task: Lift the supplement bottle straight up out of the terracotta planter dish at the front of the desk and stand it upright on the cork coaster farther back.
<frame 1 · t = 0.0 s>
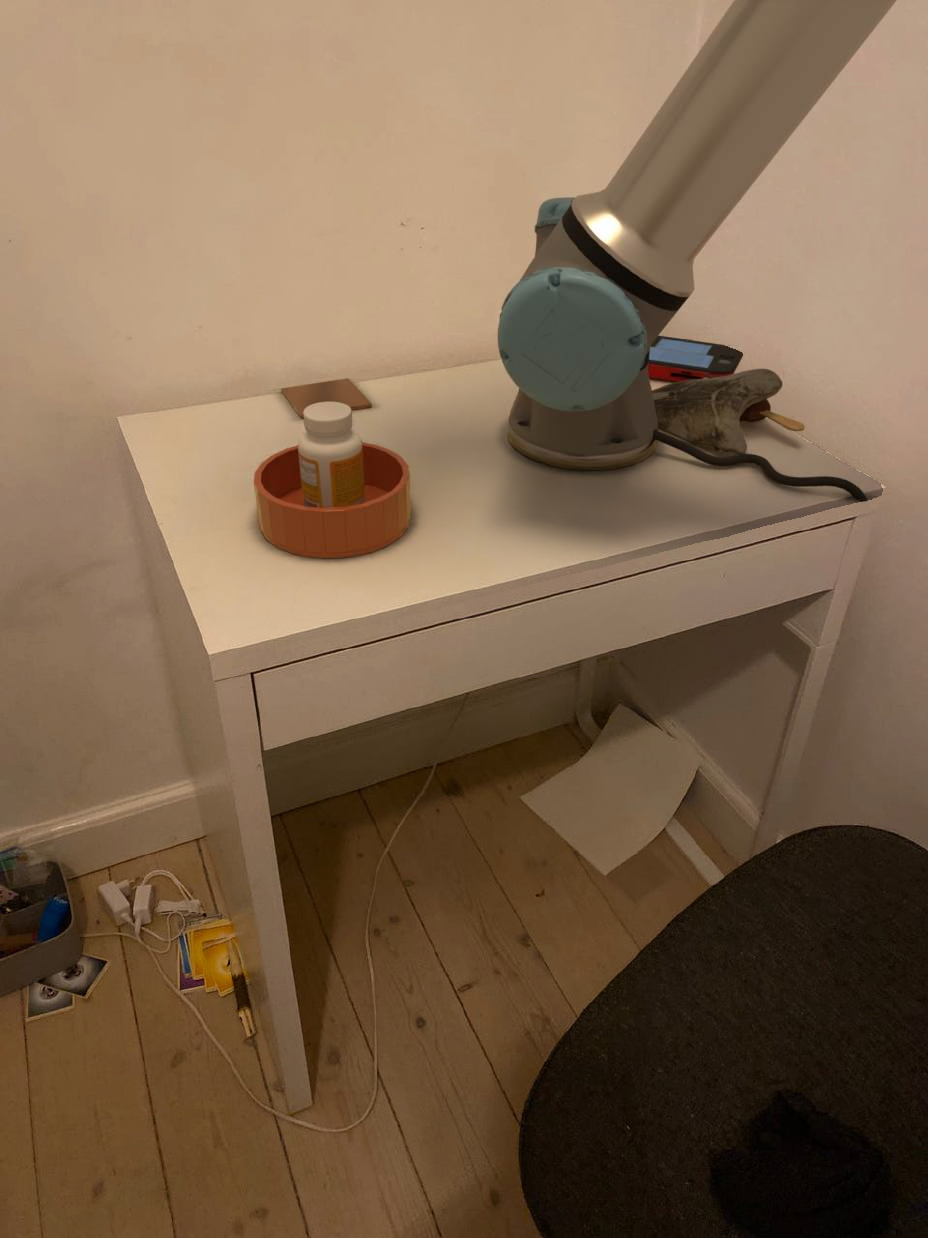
game console: (676, 366, 116), on the table
terracotta planter dish: (335, 518, 84), on the table
fossil: (630, 401, 105), point 1 cm above the table, touching ice cream bar
ice cream bar: (797, 433, 96), point 2 cm above the table, touching fossil
coaster: (325, 399, 106), on the table
supplement bottle: (335, 515, 84), resting on terracotta planter dish
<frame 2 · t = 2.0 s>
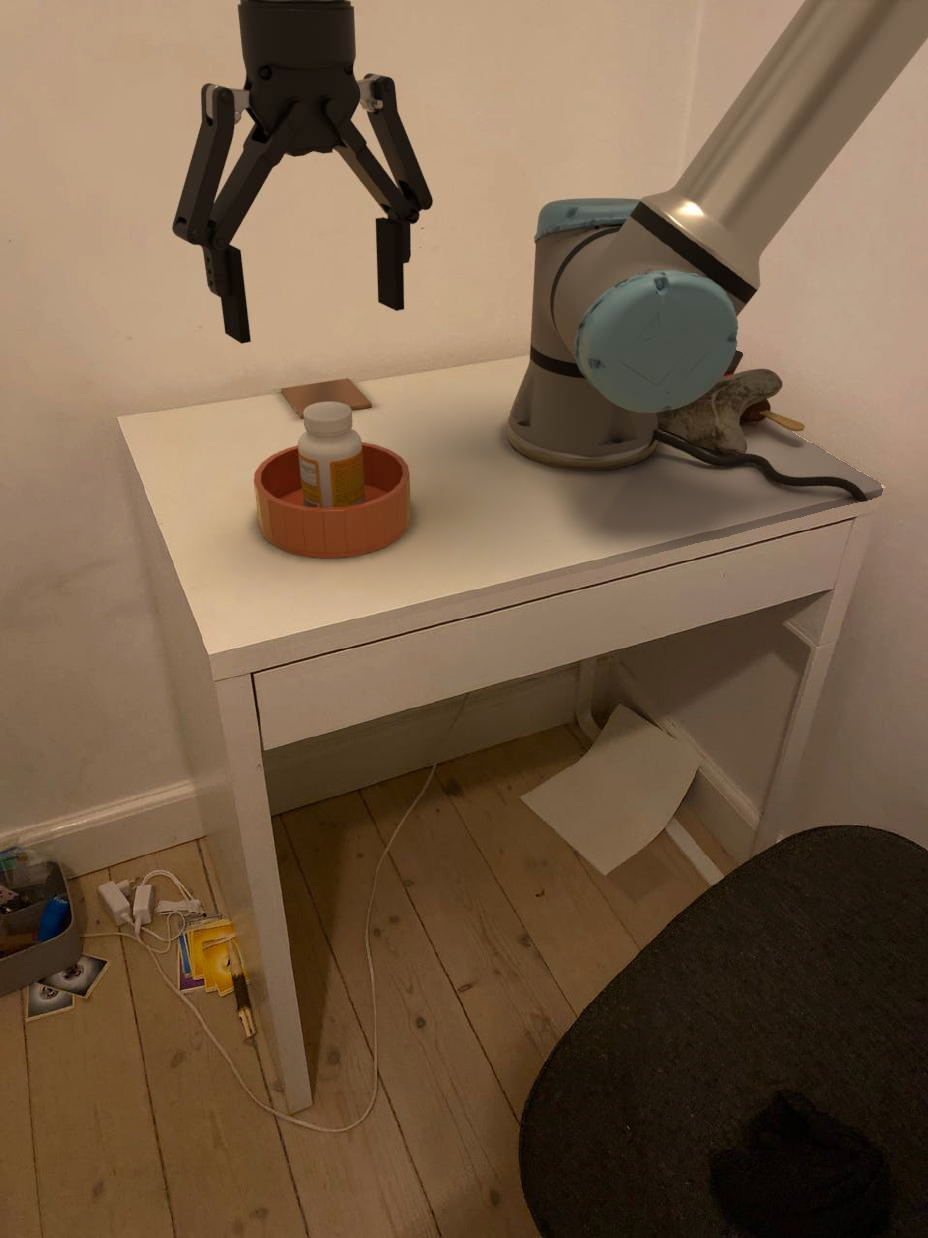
hand: (318, 321, 74), 18 cm above the table, tool pointing down, fingers open, 13 cm apart
nothing on the table moved.
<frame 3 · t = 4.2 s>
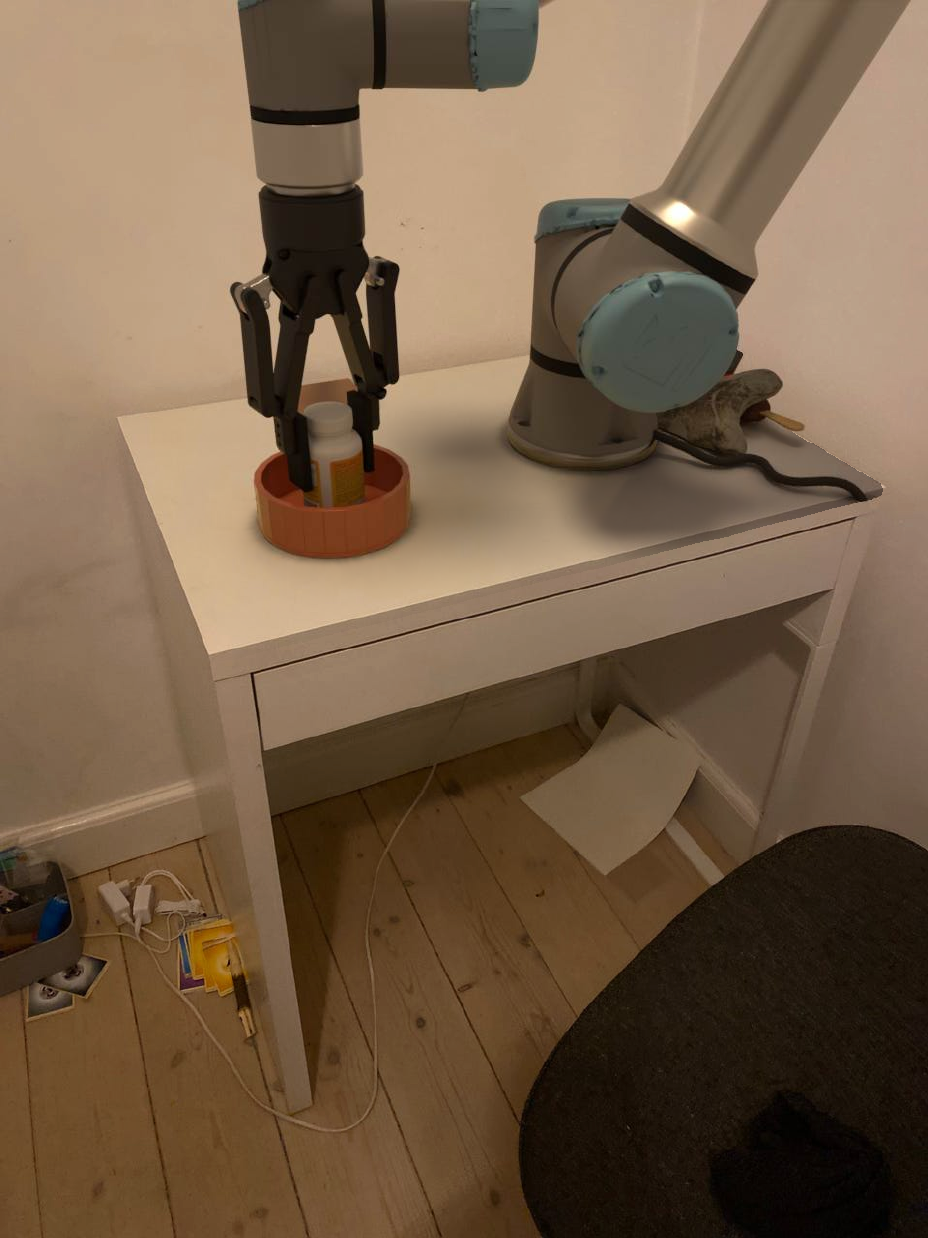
hand: (332, 475, 82), 4 cm above the table, tool pointing down, fingers closed on supplement bottle, 5 cm apart
supplement bottle: (335, 515, 84), resting on terracotta planter dish, touching gripper
everything else where it was.
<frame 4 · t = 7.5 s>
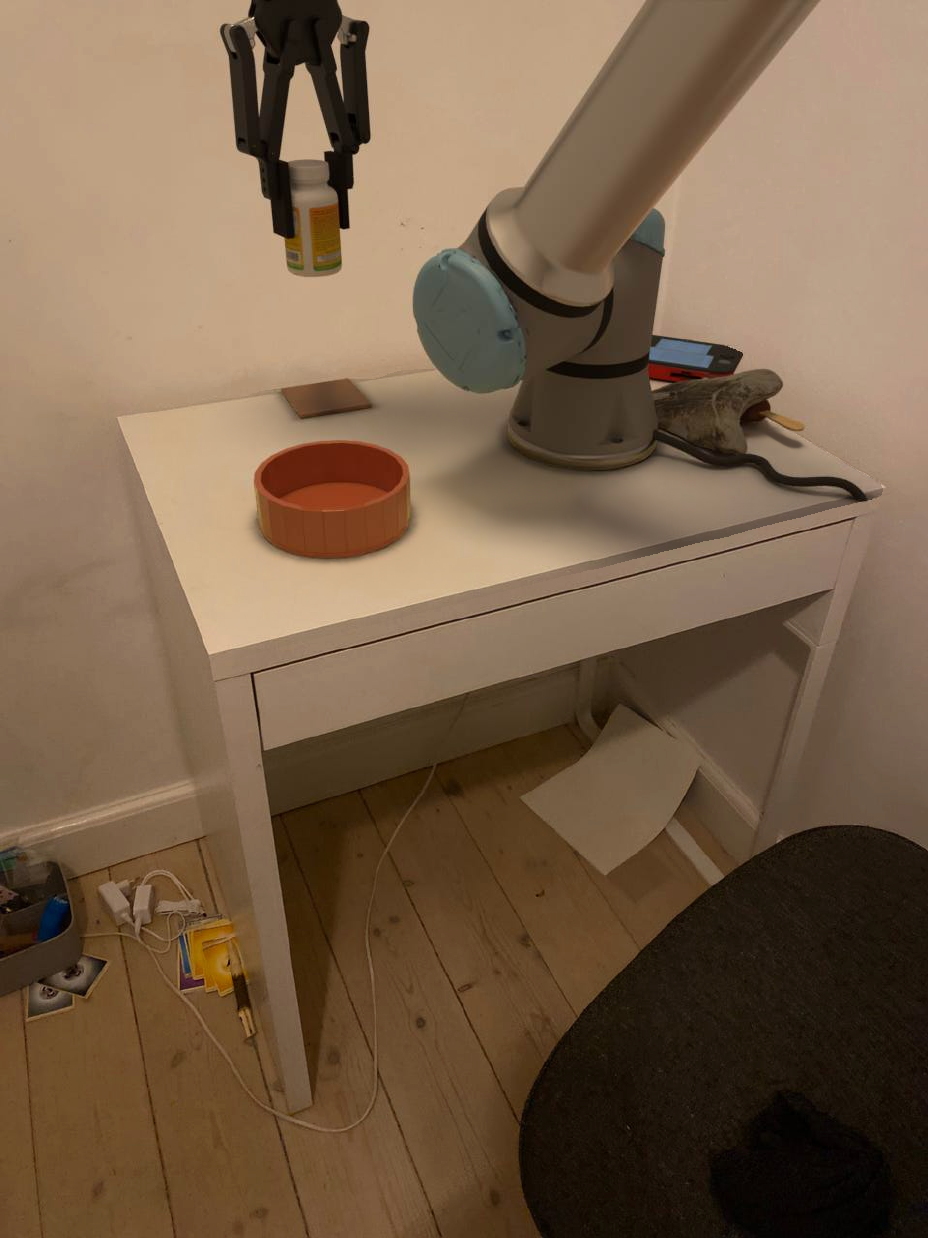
hand: (312, 229, 92), 19 cm above the table, tool pointing down, fingers closed on supplement bottle, 5 cm apart
supplement bottle: (315, 272, 94), point 15 cm above the table, touching gripper
everything else where it was.
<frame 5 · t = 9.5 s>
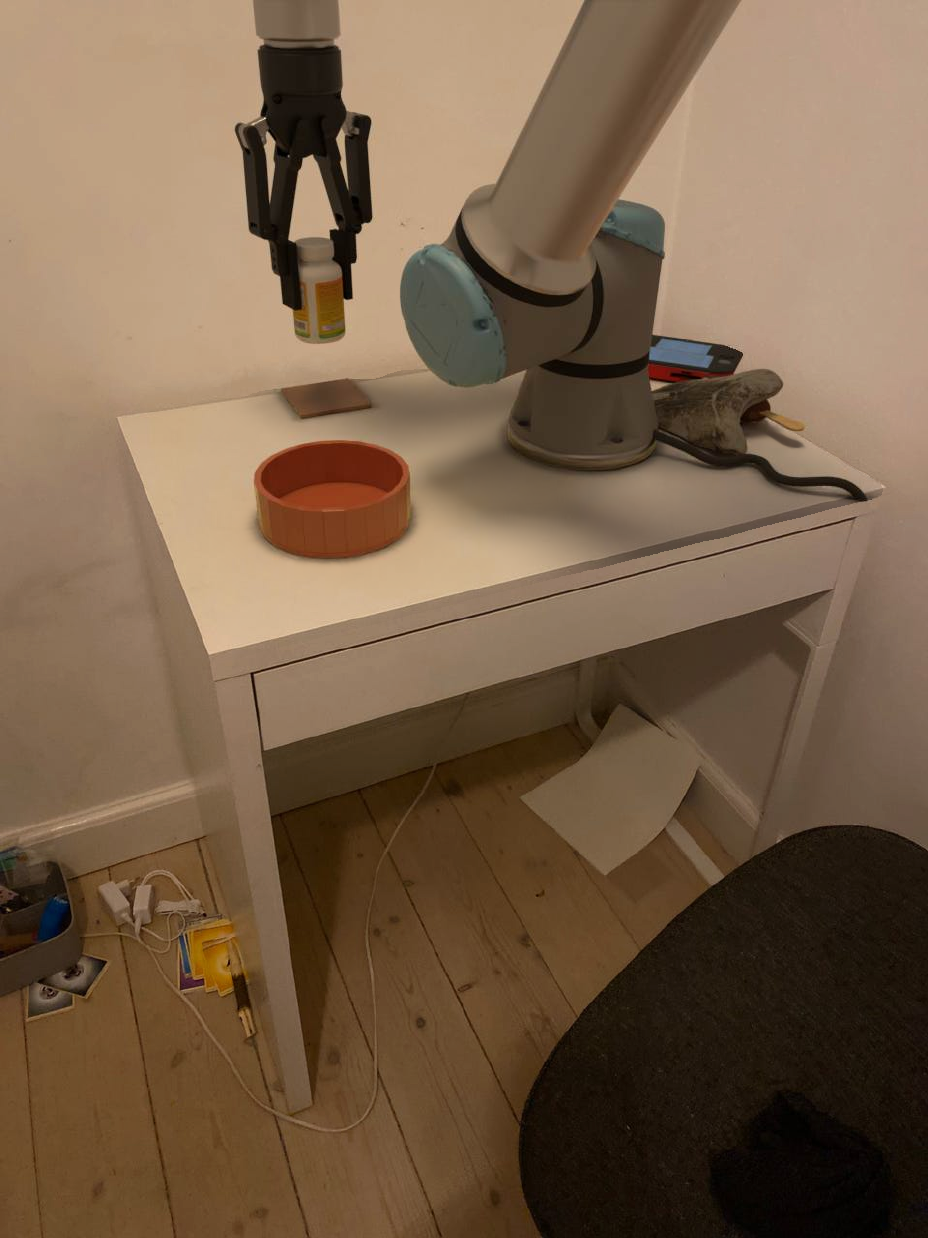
hand: (318, 300, 99), 11 cm above the table, tool pointing down, fingers closed on supplement bottle, 5 cm apart
supplement bottle: (320, 338, 102), point 7 cm above the table, touching gripper
everything else where it was.
when the fingers open (4 cm above the table, at t = 11.3 s): supplement bottle stays where it is, resting on coaster.
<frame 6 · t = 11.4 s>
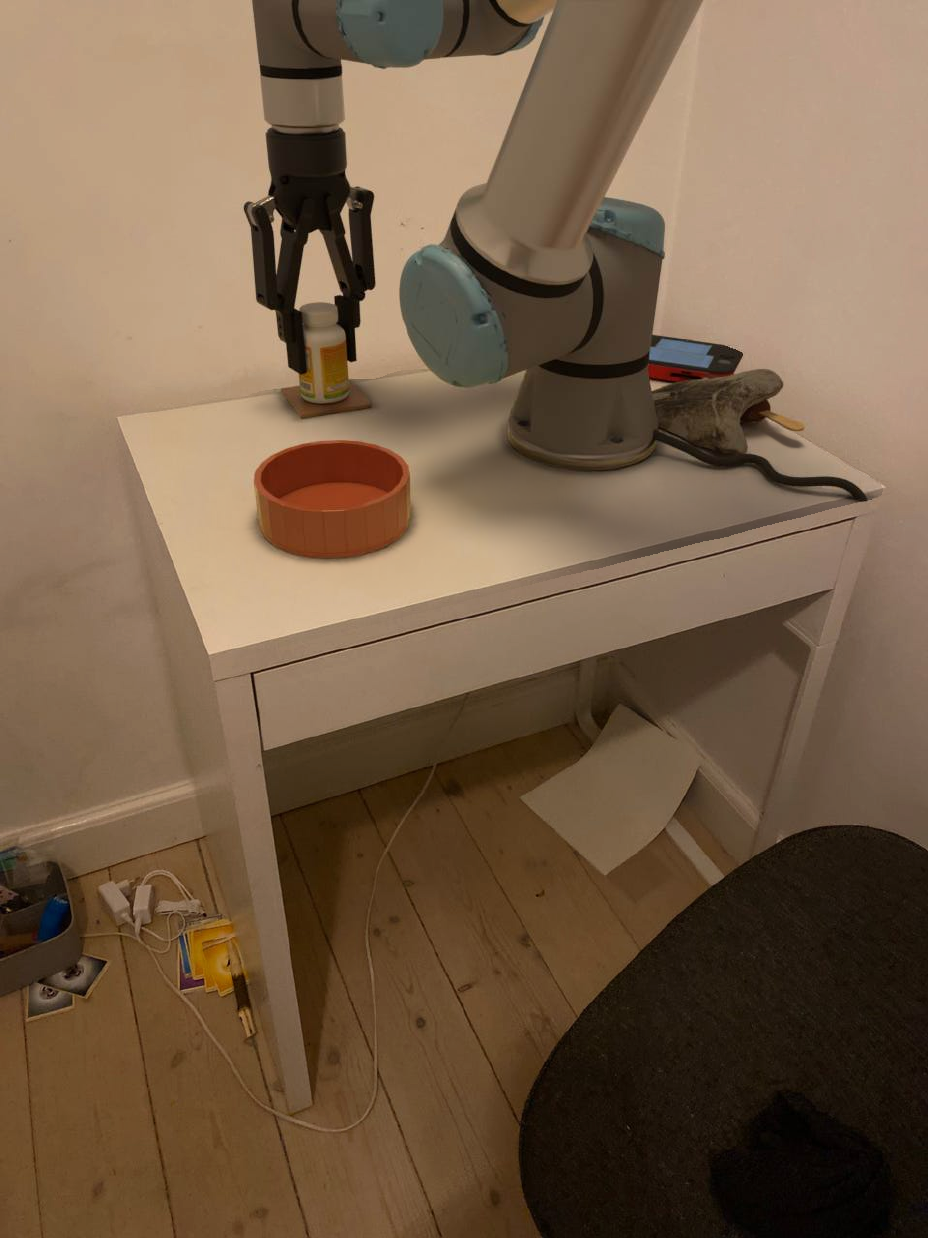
hand: (322, 363, 103), 4 cm above the table, tool pointing down, fingers open, 5 cm apart
supplement bottle: (325, 397, 106), resting on coaster
everything else where it was.
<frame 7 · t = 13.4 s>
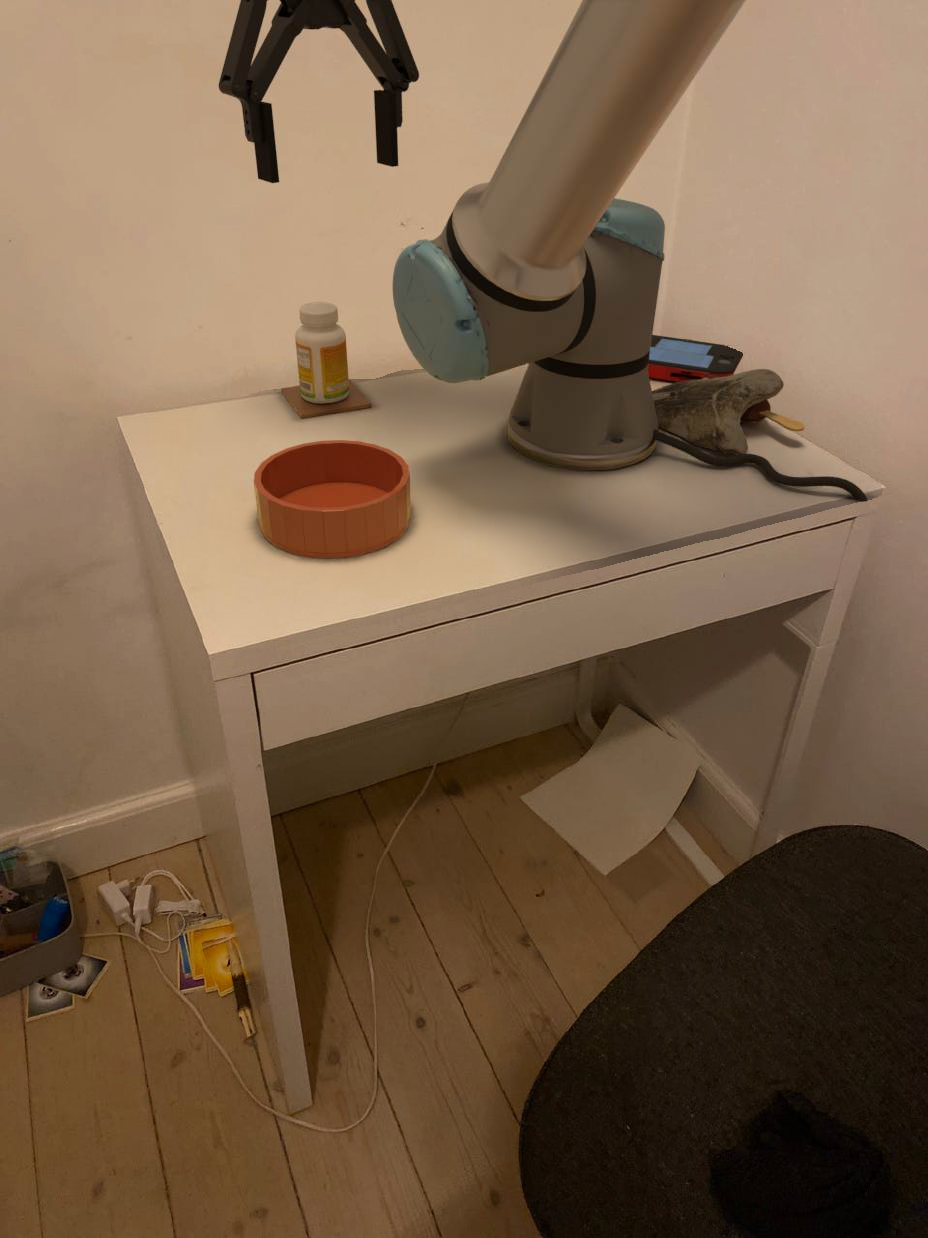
hand: (330, 172, 93), 23 cm above the table, tool pointing down, fingers open, 13 cm apart
nothing on the table moved.
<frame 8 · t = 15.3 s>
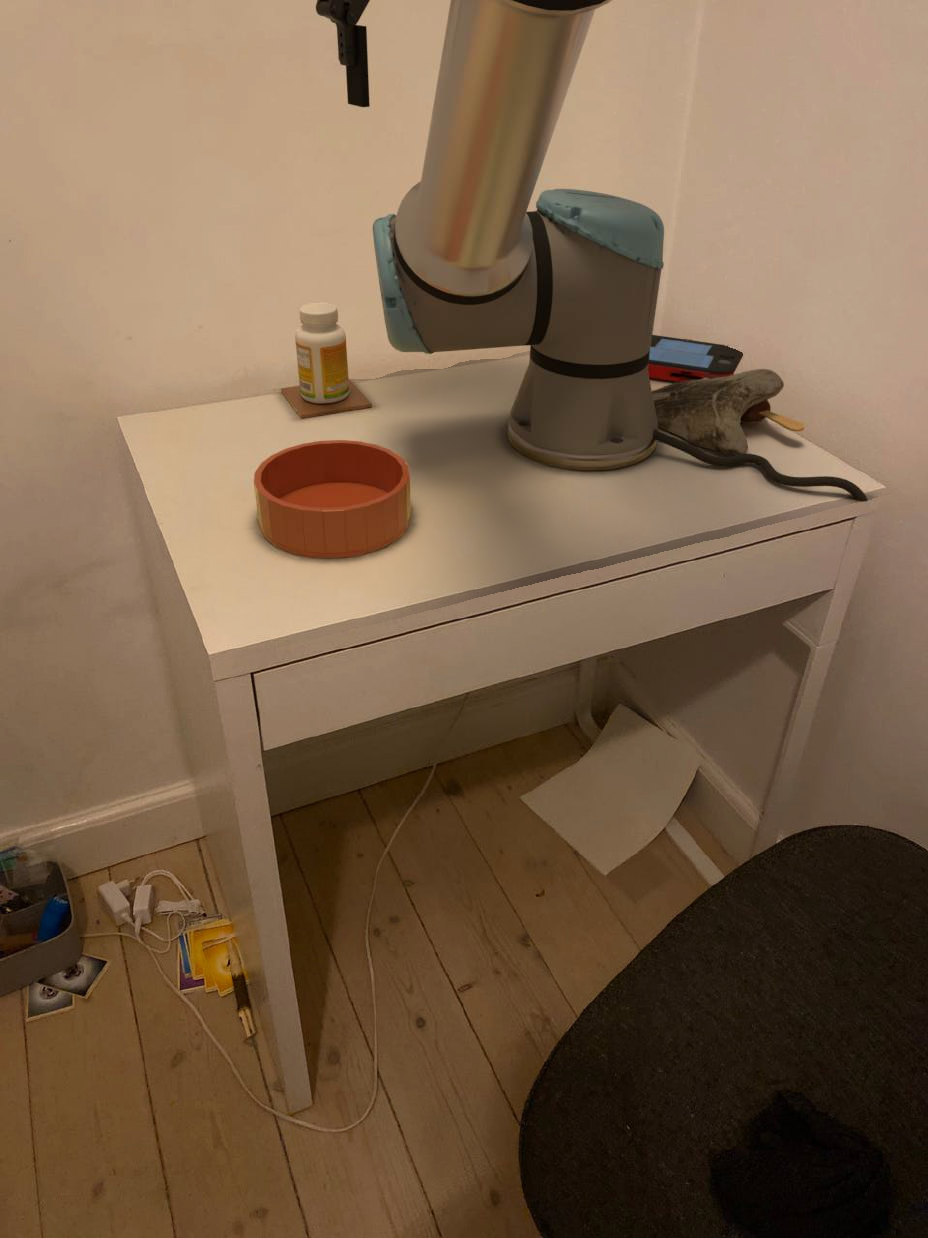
hand: (417, 100, 94), 29 cm above the table, tool pointing down, fingers open, 13 cm apart
nothing on the table moved.
at the end: supplement bottle 0.1 cm off-centre on the coaster, point 0.2 cm above the coaster's base; supplement bottle tilted 0°; supplement bottle touching coaster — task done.
